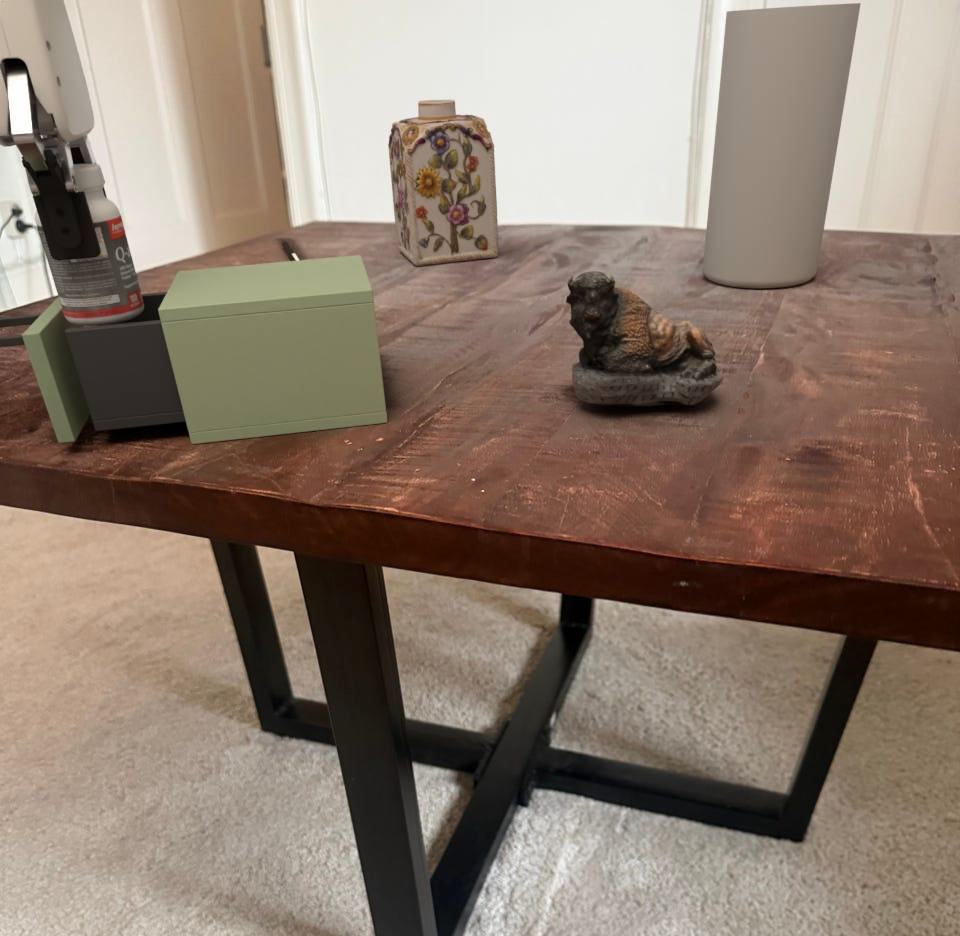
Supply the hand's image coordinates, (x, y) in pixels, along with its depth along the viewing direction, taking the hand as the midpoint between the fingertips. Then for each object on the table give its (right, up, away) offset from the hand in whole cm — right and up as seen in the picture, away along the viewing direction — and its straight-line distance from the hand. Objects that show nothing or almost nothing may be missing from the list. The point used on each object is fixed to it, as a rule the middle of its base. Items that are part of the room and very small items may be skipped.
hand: (86, 246), depth 62 cm
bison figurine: (+41, -10, +5) cm, 42 cm away
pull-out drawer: (0, -10, +7) cm, 12 cm away
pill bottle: (0, -4, +3) cm, 5 cm away
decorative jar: (+24, +24, +56) cm, 66 cm away
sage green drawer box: (+13, -9, +9) cm, 18 cm away
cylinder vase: (+60, +13, +37) cm, 72 cm away
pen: (+2, +25, +59) cm, 65 cm away
